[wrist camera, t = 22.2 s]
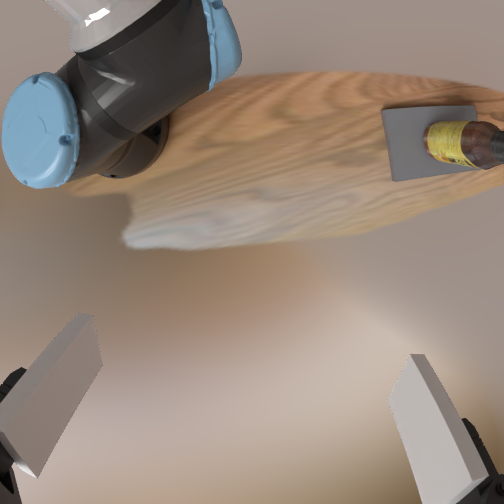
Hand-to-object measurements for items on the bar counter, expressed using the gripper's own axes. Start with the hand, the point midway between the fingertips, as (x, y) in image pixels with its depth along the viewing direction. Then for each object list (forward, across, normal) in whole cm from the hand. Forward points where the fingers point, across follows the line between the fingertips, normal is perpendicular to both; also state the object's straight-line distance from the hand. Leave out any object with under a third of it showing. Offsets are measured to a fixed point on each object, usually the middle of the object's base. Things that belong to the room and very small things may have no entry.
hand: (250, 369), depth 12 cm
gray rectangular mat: (+37, +26, +14) cm, 47 cm away
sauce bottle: (+35, +26, +14) cm, 46 cm away
